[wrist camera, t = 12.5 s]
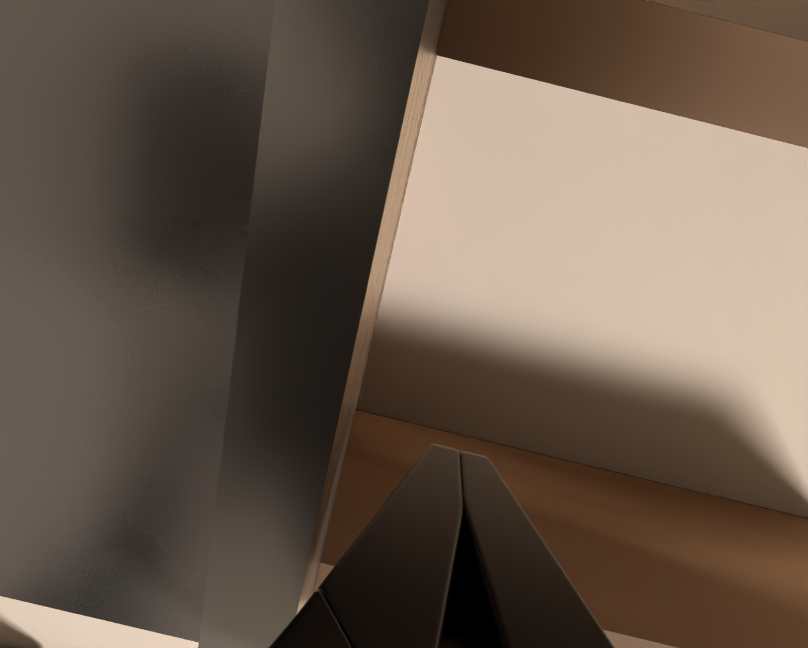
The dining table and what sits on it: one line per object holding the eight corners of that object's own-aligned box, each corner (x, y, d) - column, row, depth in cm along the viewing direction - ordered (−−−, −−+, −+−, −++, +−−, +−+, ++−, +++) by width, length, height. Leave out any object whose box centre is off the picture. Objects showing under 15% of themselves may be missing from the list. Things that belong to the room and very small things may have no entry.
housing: (807, 554, 19) (925, 748, 14) (-255, 299, 18) (-521, 407, 13) (1101, 133, 13) (1467, 208, 8) (-400, -246, 13) (-935, -400, 8)
